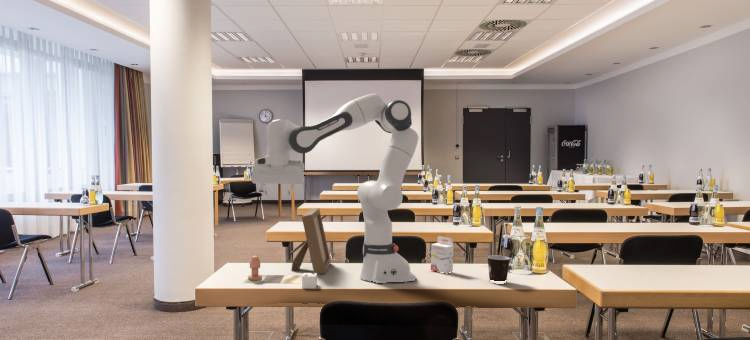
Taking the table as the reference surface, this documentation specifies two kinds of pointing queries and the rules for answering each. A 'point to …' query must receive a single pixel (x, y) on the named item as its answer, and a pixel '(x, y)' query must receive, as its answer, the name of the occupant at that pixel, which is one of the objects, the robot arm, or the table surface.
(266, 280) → the track board
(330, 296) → the table surface
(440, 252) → the ink cartridge box
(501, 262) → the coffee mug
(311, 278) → the die
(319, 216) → the photo frame
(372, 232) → the robot arm
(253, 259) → the pawn
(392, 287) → the table surface
